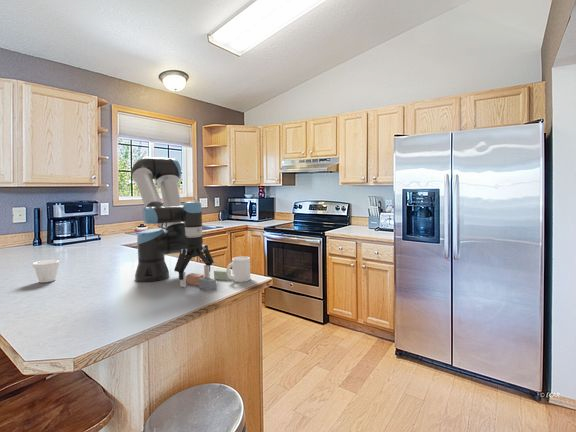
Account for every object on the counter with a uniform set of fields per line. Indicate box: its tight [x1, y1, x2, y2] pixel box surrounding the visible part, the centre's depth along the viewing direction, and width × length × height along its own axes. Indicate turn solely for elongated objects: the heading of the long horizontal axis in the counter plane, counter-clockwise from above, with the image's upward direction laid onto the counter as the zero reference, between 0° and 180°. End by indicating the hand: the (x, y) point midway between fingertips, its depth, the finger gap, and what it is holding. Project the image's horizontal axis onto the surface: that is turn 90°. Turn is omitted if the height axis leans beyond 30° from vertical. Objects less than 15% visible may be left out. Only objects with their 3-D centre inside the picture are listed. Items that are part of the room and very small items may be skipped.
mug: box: [225, 255, 251, 283], centre depth 147 cm, size 12×8×10 cm
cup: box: [32, 259, 60, 284], centre depth 149 cm, size 10×10×9 cm
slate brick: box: [198, 276, 217, 292], centre depth 137 cm, size 7×4×4 cm, turn 53°
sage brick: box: [213, 268, 232, 281], centre depth 151 cm, size 7×4×4 cm, turn 73°
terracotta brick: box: [186, 272, 205, 286], centre depth 144 cm, size 7×4×4 cm, turn 63°
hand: (195, 282), depth 144 cm, fingers open, 13 cm apart
